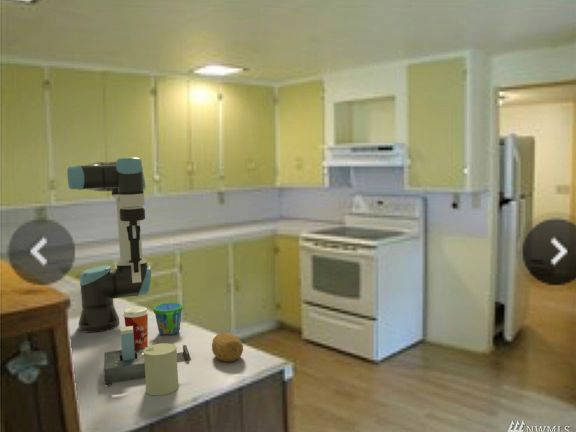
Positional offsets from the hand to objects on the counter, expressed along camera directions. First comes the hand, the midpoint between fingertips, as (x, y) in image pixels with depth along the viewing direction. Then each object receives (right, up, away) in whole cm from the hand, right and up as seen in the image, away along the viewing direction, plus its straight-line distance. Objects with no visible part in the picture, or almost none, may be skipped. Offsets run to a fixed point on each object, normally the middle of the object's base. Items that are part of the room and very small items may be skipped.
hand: (136, 281), depth 161 cm
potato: (+28, -26, +3) cm, 38 cm away
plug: (-1, -27, -5) cm, 28 cm away
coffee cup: (-3, -26, +11) cm, 28 cm away
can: (+12, -28, -16) cm, 35 cm away
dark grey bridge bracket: (+12, -26, +5) cm, 29 cm away
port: (-1, -27, -5) cm, 28 cm away
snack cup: (+3, -23, +30) cm, 39 cm away
